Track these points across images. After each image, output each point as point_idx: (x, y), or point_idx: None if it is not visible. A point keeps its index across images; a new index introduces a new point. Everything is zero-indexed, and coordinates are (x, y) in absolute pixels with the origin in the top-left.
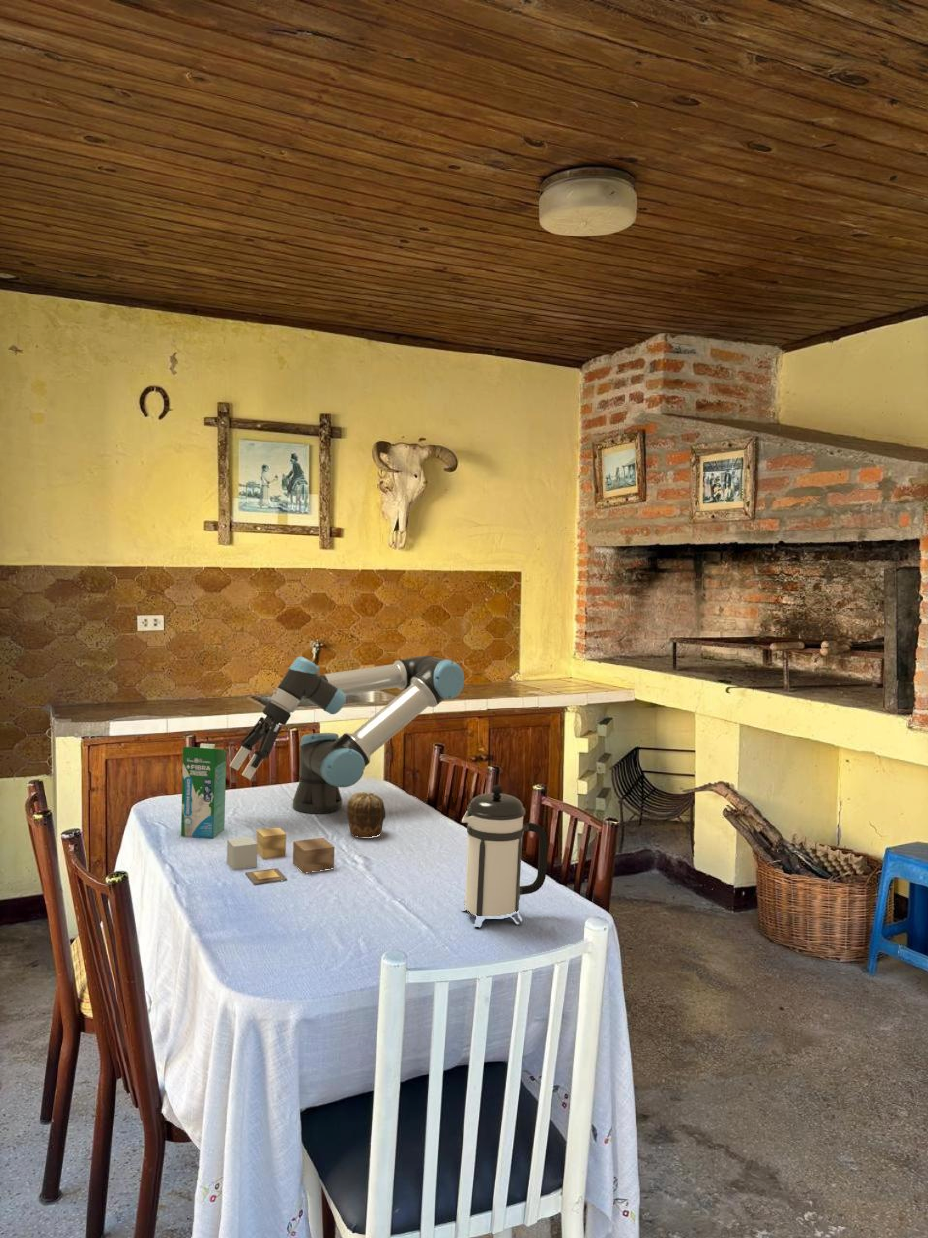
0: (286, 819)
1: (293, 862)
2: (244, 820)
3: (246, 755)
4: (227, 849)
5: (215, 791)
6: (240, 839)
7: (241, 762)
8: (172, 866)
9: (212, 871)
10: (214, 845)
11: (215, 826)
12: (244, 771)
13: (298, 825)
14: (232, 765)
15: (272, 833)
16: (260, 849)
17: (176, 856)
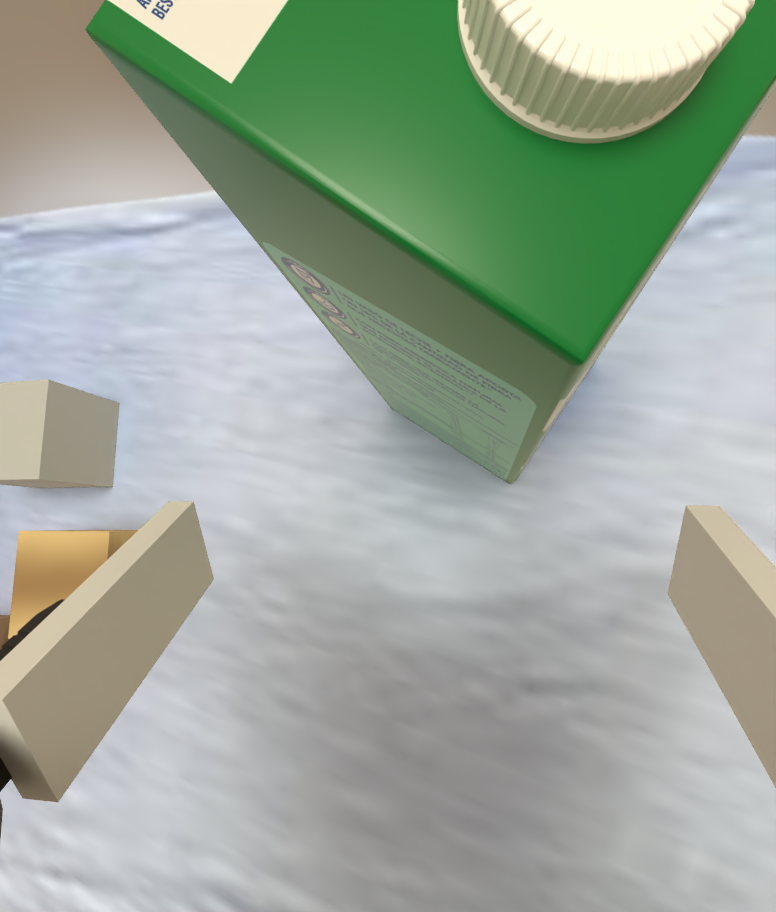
0: (580, 841)
1: (1, 616)
2: (631, 617)
3: (773, 769)
4: (77, 390)
5: (351, 345)
6: (26, 429)
7: (713, 656)
8: (155, 232)
9: (64, 343)
10: (306, 398)
11: (405, 411)
12: (147, 523)
13: (451, 853)
14: (691, 536)
15: (38, 582)
16: (106, 530)
17: (241, 252)
